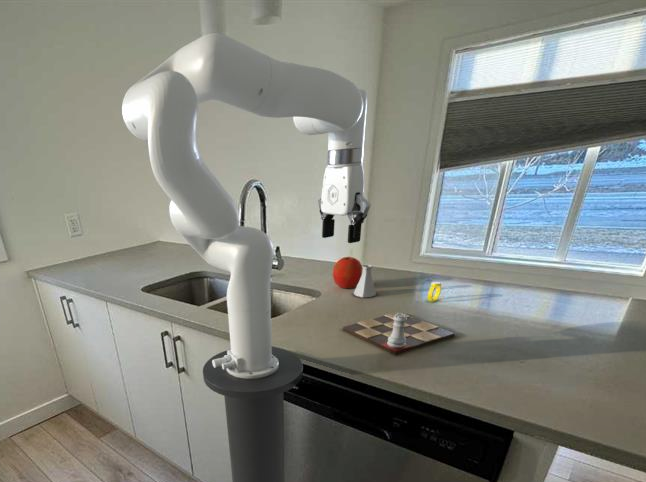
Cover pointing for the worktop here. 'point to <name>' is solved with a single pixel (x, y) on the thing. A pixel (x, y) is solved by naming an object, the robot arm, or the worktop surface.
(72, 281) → the worktop surface
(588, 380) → the worktop surface
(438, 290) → the yellow ring
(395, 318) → the rook chess piece
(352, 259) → the apple
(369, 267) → the flask
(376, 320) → the board
